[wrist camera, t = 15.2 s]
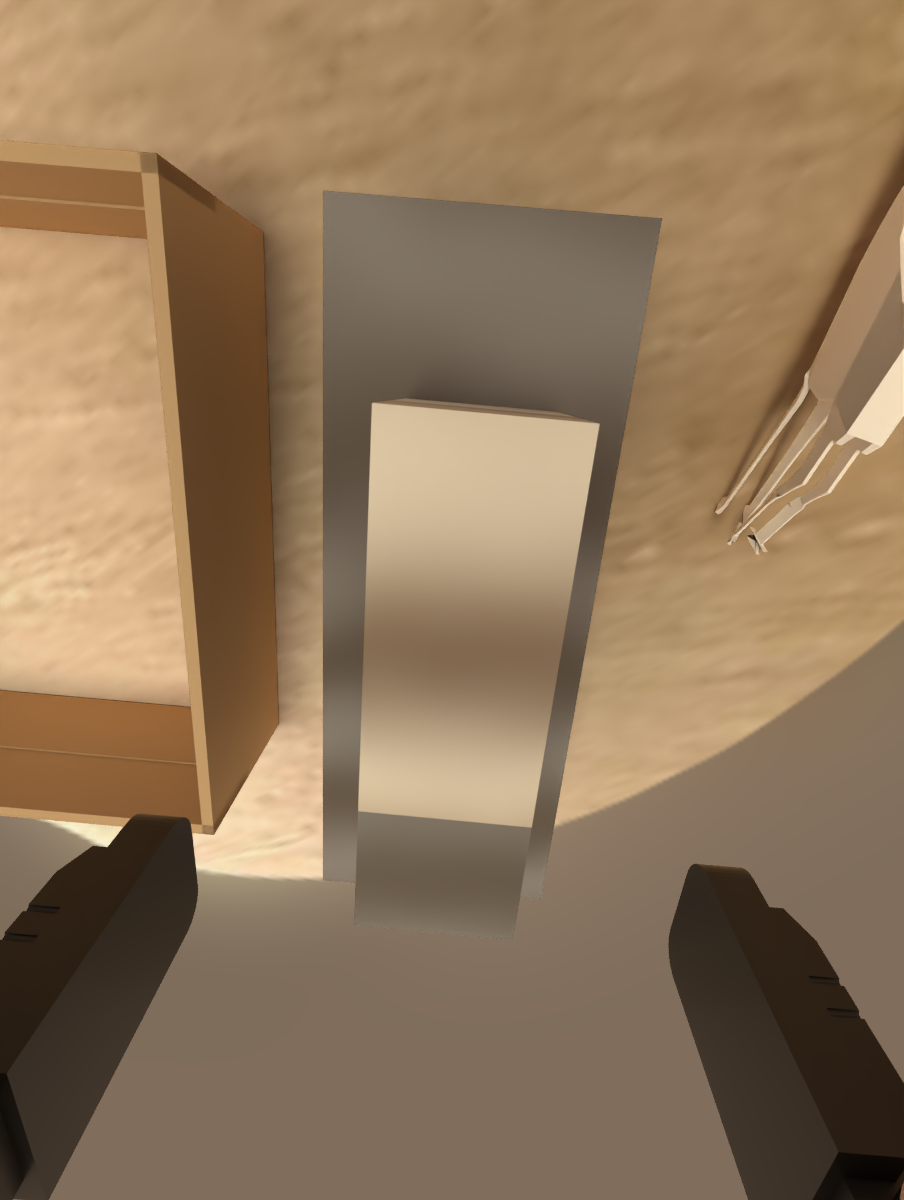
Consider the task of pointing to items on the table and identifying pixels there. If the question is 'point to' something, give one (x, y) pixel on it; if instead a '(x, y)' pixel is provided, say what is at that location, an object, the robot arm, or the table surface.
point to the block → (461, 653)
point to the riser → (470, 376)
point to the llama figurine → (845, 382)
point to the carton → (199, 500)
